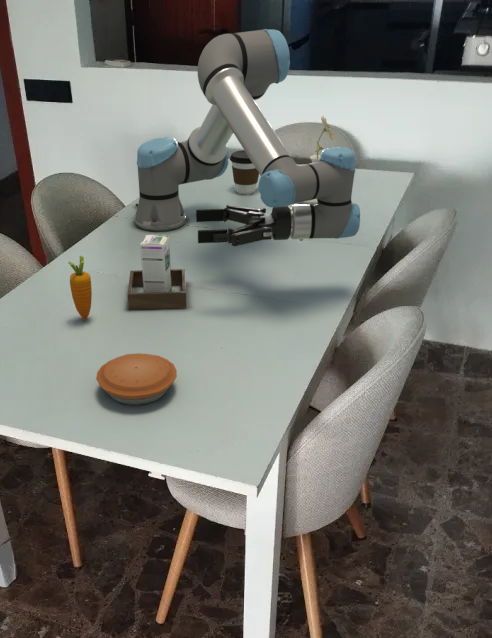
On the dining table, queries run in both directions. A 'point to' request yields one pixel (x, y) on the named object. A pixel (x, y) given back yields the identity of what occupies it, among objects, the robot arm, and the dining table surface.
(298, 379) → the dining table surface
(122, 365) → the pie
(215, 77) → the robot arm
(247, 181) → the coffee cup
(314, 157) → the flower in vase
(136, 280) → the wooden frame
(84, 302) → the carrot
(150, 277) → the syrup box
